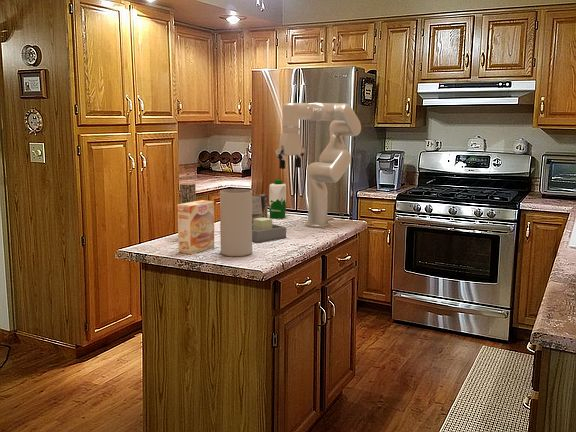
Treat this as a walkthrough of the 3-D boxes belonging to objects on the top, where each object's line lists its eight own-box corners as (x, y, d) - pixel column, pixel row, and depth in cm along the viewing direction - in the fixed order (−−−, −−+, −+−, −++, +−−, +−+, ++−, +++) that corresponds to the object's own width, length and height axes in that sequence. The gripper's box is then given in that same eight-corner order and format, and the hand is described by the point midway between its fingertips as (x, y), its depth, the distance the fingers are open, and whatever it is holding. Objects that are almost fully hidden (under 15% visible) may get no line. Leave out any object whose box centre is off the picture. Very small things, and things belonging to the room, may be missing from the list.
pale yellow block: (263, 234, 260) (263, 217, 259) (272, 236, 255) (272, 219, 254) (253, 236, 256) (253, 218, 255) (261, 238, 252) (261, 220, 250)
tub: (267, 233, 266) (267, 222, 265) (286, 237, 256) (286, 227, 255) (238, 237, 255) (238, 226, 255) (257, 243, 246) (257, 231, 245)
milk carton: (286, 216, 311) (287, 179, 308) (284, 219, 303) (284, 181, 299) (271, 215, 313) (271, 179, 309) (267, 218, 304) (267, 181, 301)
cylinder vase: (216, 251, 230) (215, 189, 226) (245, 248, 235) (245, 188, 231) (226, 258, 219) (225, 193, 215) (256, 255, 224) (256, 192, 220)
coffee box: (263, 229, 275) (263, 196, 272) (250, 229, 276) (250, 196, 273) (268, 226, 284) (268, 194, 281) (255, 225, 285) (255, 193, 282)
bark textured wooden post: (199, 237, 255) (198, 182, 251) (190, 240, 249) (189, 183, 245) (186, 236, 258) (185, 181, 254) (177, 239, 252) (176, 182, 248)
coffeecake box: (191, 254, 224) (190, 205, 221) (177, 252, 228) (176, 204, 225) (215, 247, 237) (214, 201, 233) (202, 245, 241) (201, 199, 237)
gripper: (299, 130, 269) (298, 166, 272) (270, 130, 258) (270, 168, 261) (310, 130, 264) (309, 167, 267) (281, 131, 252) (281, 169, 255)
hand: (290, 168), depth 264 cm, fingers open, 9 cm apart
